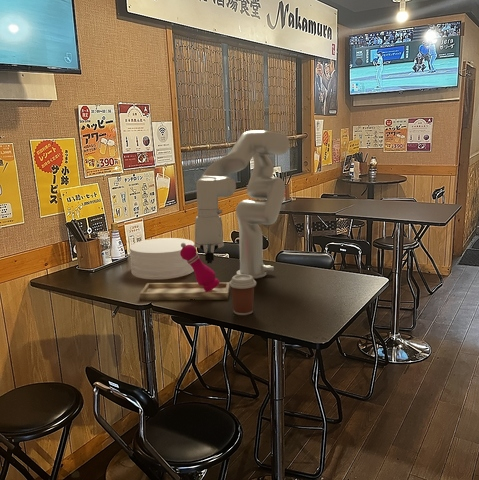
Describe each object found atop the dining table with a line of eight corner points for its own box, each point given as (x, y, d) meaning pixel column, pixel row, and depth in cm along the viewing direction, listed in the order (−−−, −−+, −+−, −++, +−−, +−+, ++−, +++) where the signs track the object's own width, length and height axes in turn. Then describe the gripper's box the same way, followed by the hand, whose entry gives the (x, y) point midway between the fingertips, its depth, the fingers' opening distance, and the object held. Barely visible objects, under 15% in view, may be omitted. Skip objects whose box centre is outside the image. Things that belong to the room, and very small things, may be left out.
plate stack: (125, 266, 219) (123, 242, 216) (183, 258, 230) (182, 235, 228) (139, 283, 194) (137, 256, 191) (204, 273, 205) (203, 247, 203)
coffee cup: (262, 310, 161) (261, 276, 158) (245, 318, 154) (244, 283, 152) (241, 304, 167) (240, 271, 164) (224, 312, 160) (222, 278, 157)
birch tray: (229, 288, 184) (229, 282, 184) (227, 299, 173) (227, 292, 172) (147, 289, 186) (147, 283, 185) (139, 300, 174) (139, 293, 174)
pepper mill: (223, 278, 180) (192, 235, 177) (217, 287, 173) (185, 242, 170) (208, 286, 183) (178, 243, 180) (202, 295, 177) (170, 251, 173)
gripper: (229, 211, 175) (230, 259, 179) (188, 211, 176) (190, 260, 180) (228, 214, 168) (229, 265, 172) (185, 215, 169) (188, 265, 173)
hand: (209, 262), depth 176 cm, fingers closed
